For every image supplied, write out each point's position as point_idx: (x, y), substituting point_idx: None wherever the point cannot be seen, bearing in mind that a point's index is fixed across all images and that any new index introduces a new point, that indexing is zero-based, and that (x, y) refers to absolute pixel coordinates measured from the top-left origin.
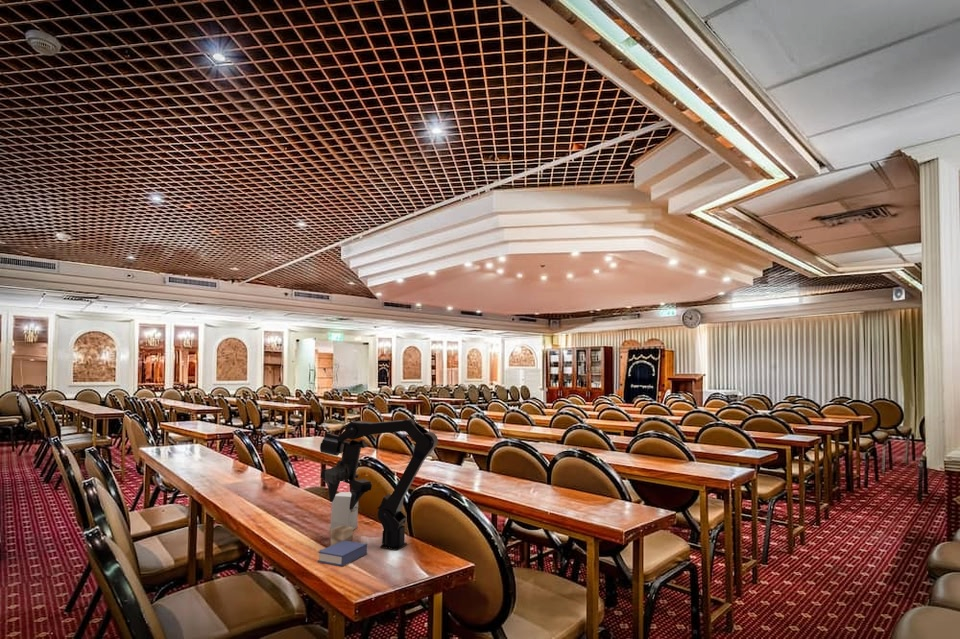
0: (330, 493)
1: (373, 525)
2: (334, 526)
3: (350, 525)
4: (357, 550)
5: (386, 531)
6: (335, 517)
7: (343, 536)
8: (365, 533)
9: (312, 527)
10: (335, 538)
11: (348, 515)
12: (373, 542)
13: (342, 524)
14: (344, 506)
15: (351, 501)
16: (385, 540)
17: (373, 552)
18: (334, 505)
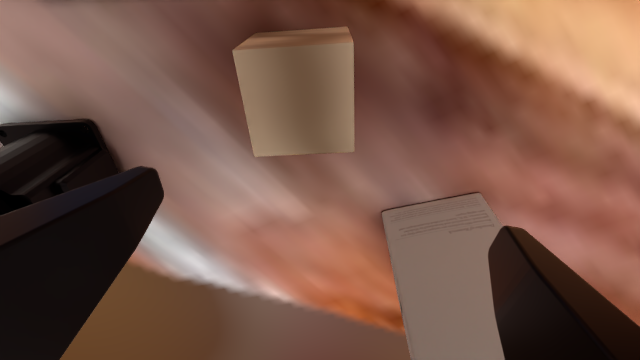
0: (594, 326)
1: (355, 309)
2: (466, 213)
3: (387, 243)
4: None
5: (3, 171)
6: (482, 247)
7: (241, 44)
8: (315, 238)
9: (607, 208)
10: (309, 35)
11: (402, 275)
12: (189, 166)
13: (423, 230)
14: (447, 317)
15: (16, 221)
16: (56, 149)
17: (46, 42)
18: None
